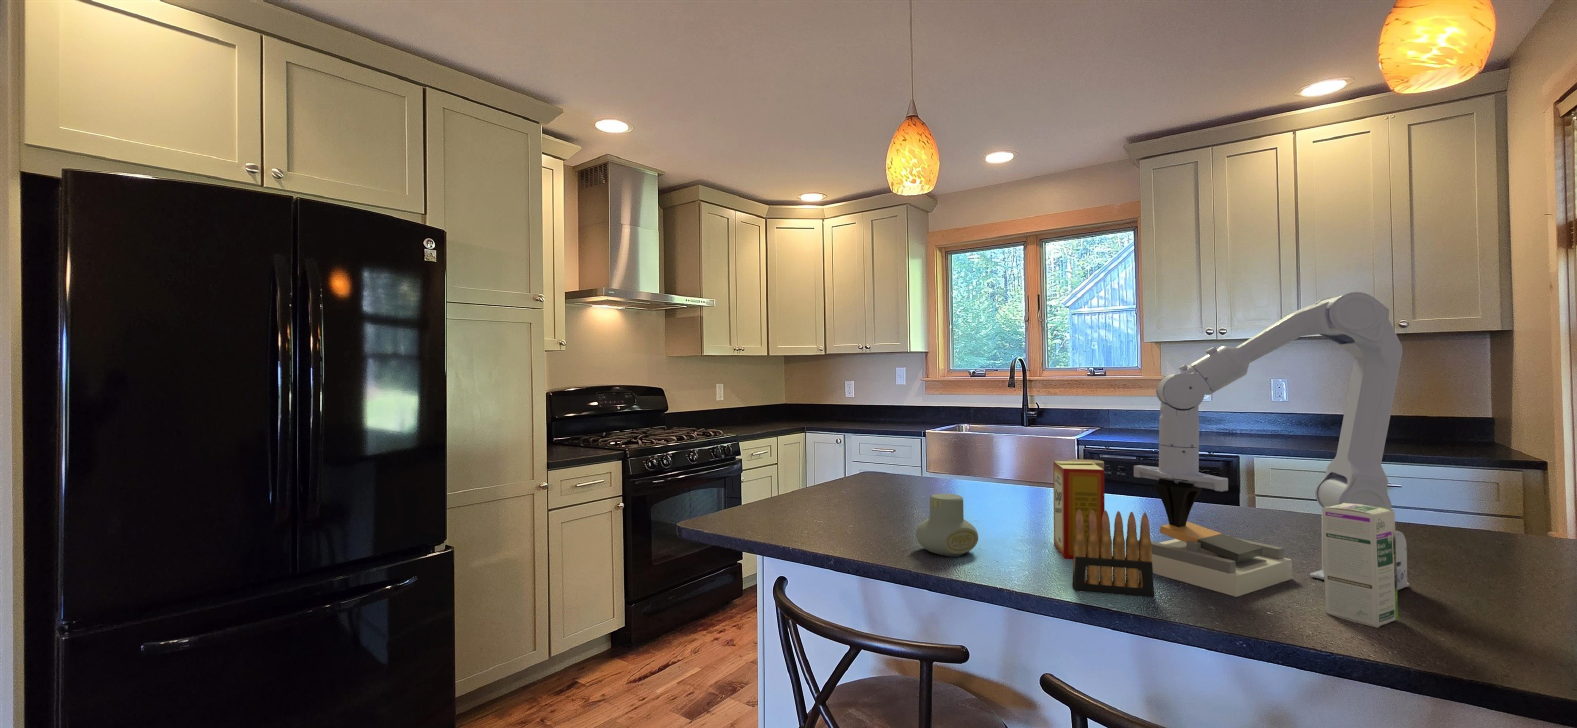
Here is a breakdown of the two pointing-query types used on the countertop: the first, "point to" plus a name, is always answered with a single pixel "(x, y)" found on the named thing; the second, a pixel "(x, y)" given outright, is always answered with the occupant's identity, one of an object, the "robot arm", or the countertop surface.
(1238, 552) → the breaker rocker
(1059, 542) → the baking soda box
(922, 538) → the air freshener
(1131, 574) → the ammunition clip
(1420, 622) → the countertop surface
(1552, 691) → the countertop surface
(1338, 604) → the syrup box
